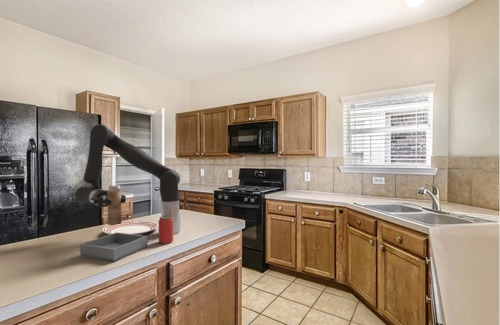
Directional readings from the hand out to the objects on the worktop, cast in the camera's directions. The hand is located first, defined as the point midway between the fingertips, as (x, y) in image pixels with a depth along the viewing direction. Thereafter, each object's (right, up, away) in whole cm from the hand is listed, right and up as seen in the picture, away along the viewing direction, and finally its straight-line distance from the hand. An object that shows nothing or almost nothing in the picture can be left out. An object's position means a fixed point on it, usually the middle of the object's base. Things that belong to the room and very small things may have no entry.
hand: (117, 201), depth 109 cm
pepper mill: (-2, -10, +2) cm, 10 cm away
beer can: (+16, -22, +15) cm, 31 cm away
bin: (-2, -22, +2) cm, 22 cm away
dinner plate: (-9, -22, +32) cm, 40 cm away
